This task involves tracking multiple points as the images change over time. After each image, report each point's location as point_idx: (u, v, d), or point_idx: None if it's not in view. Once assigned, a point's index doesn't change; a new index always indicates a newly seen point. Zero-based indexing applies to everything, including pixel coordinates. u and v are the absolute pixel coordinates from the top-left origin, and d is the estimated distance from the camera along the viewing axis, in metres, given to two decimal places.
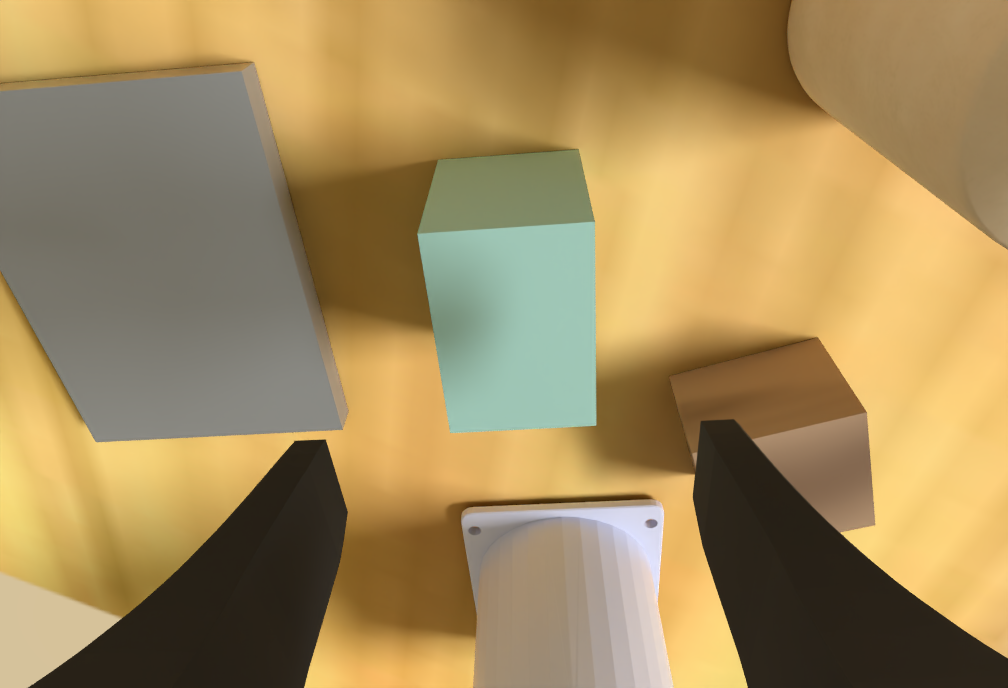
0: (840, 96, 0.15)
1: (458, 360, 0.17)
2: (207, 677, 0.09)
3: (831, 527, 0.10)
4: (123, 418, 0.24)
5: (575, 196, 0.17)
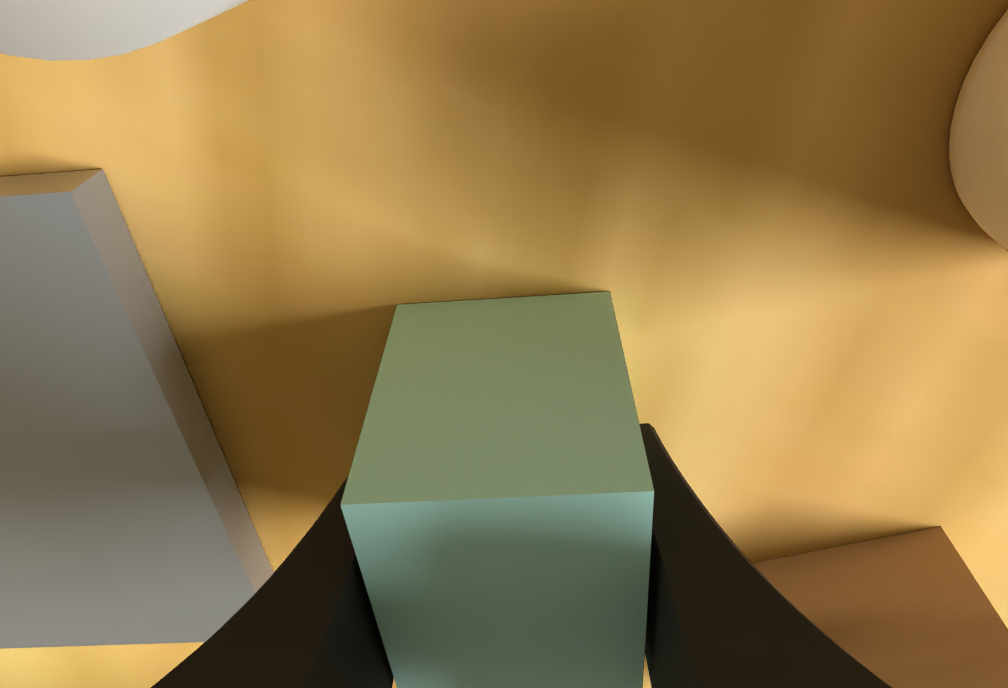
0: None
1: (420, 661, 0.11)
2: (327, 673, 0.08)
3: (719, 532, 0.10)
4: None
5: (614, 415, 0.10)
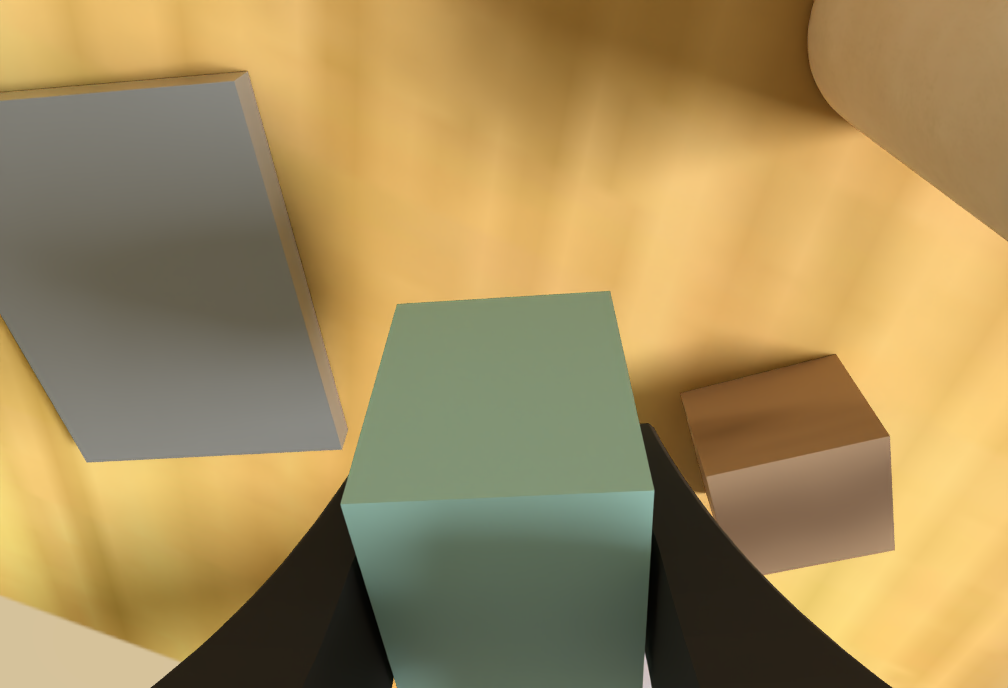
0: (867, 108, 0.14)
1: (420, 660, 0.11)
2: (327, 673, 0.08)
3: (719, 531, 0.10)
4: (114, 438, 0.23)
5: (614, 413, 0.10)
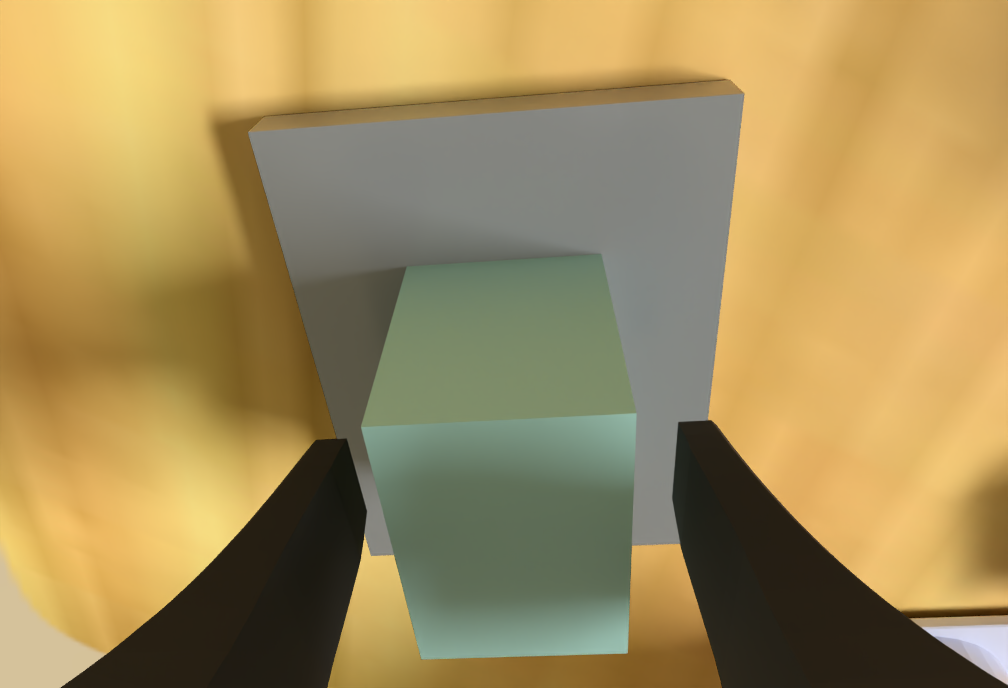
0: None
1: (429, 579, 0.12)
2: (239, 676, 0.09)
3: (801, 528, 0.10)
4: None
5: (603, 353, 0.11)
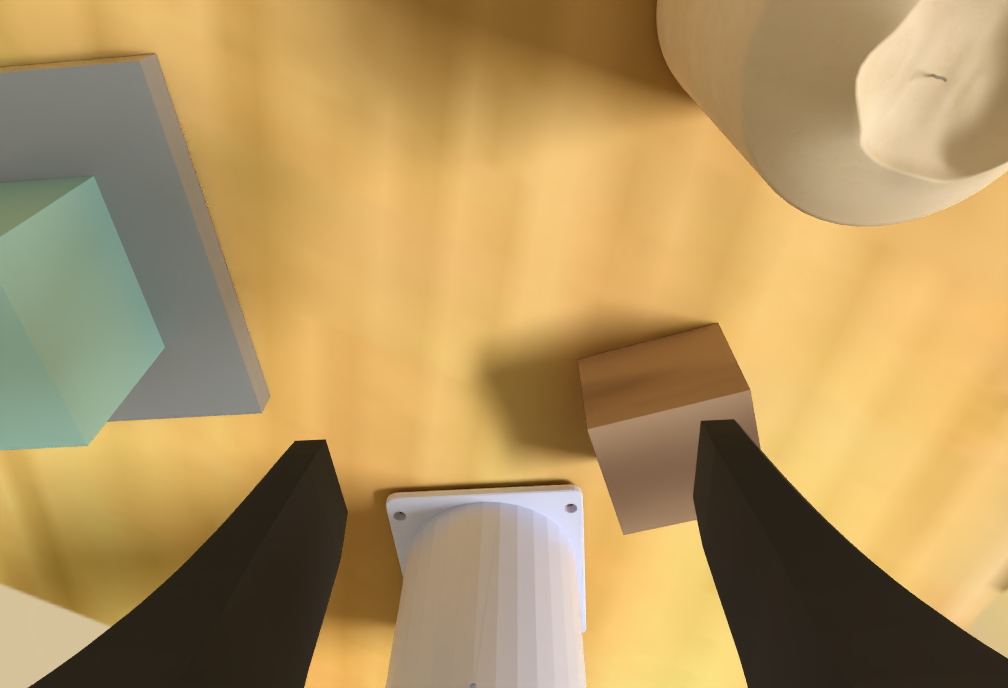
0: (686, 80, 0.16)
1: None
2: (207, 677, 0.09)
3: (831, 527, 0.10)
4: None
5: (8, 224, 0.17)
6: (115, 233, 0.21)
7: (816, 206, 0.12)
